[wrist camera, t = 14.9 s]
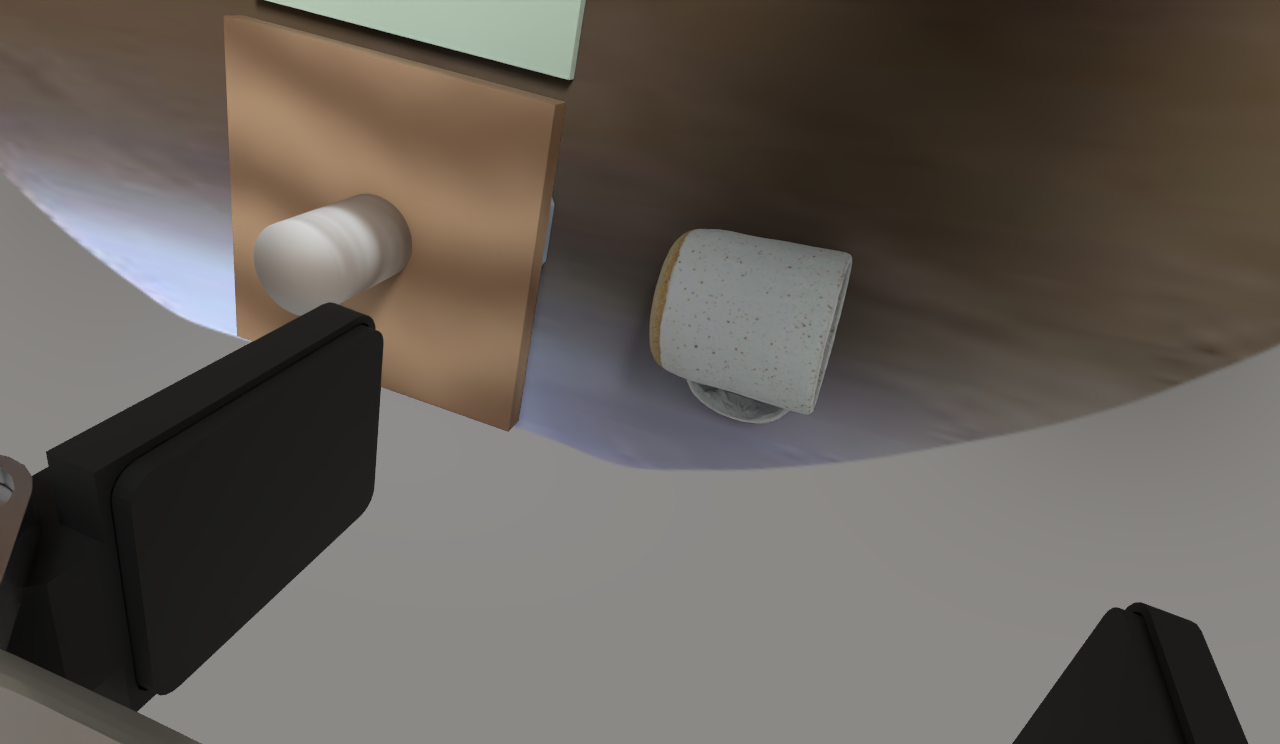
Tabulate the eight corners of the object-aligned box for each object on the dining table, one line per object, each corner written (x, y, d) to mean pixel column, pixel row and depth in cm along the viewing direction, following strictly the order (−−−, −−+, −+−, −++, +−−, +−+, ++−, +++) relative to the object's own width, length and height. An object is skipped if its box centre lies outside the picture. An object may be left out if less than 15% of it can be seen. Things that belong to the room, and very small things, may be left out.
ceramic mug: (693, 206, 40) (648, 249, 33) (859, 233, 38) (846, 285, 32) (671, 391, 45) (628, 461, 38) (817, 424, 43) (799, 503, 36)
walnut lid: (243, 15, 36) (113, 17, 31) (566, 102, 34) (492, 123, 28) (253, 328, 44) (150, 378, 38) (518, 420, 41) (452, 490, 35)
